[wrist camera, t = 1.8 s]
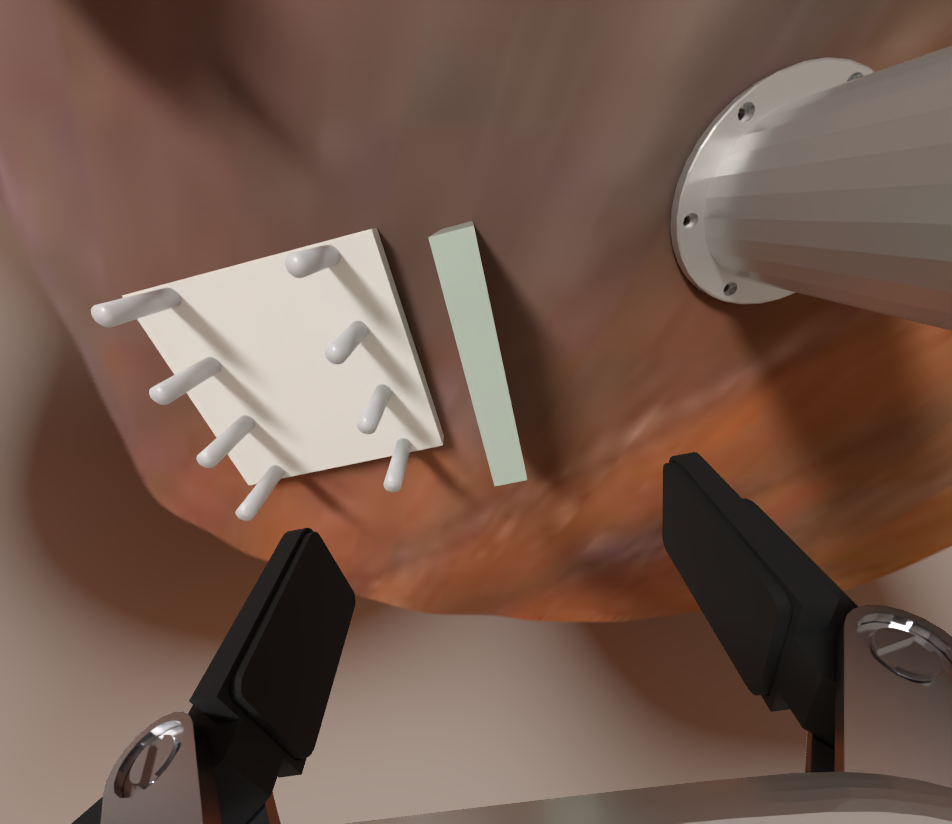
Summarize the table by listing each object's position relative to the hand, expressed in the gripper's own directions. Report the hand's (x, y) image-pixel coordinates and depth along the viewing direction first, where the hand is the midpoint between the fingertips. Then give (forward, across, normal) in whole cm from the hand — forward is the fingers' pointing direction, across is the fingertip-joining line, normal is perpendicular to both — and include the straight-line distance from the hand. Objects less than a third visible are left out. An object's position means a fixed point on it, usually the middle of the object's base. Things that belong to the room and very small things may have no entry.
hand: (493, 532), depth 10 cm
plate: (+19, 0, 0) cm, 19 cm away
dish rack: (+19, +13, 0) cm, 23 cm away
